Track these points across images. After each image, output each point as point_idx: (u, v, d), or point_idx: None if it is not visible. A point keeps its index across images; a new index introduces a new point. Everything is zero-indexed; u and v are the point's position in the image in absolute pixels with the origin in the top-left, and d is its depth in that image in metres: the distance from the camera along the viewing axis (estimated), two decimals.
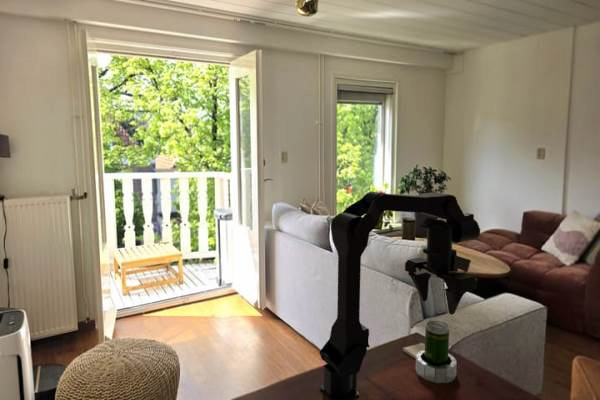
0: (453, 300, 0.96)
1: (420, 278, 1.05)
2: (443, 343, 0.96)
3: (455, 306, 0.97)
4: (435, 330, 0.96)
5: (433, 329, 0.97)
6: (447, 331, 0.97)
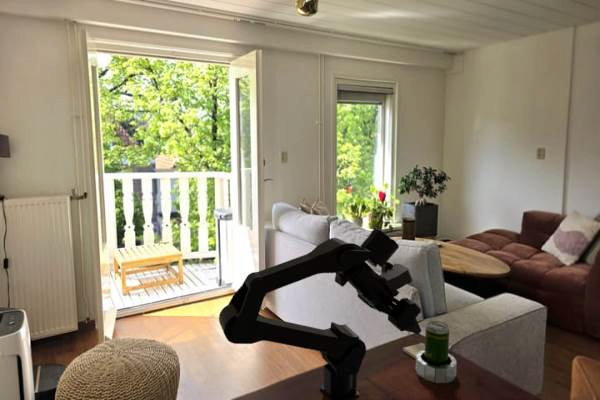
0: (409, 327, 0.89)
1: None
2: (443, 343, 0.96)
3: (416, 327, 0.90)
4: (435, 330, 0.96)
5: (433, 329, 0.97)
6: (447, 331, 0.97)
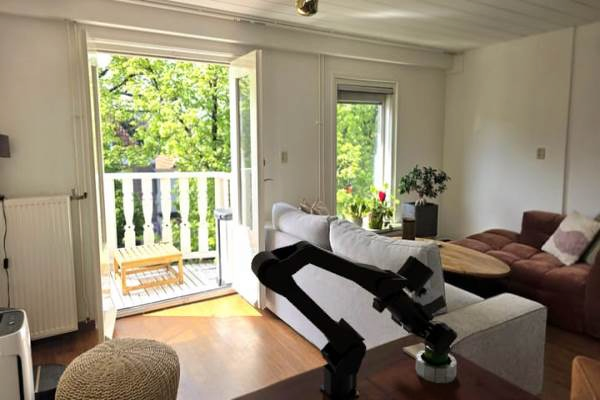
0: None
1: None
2: None
3: None
4: None
5: None
6: None
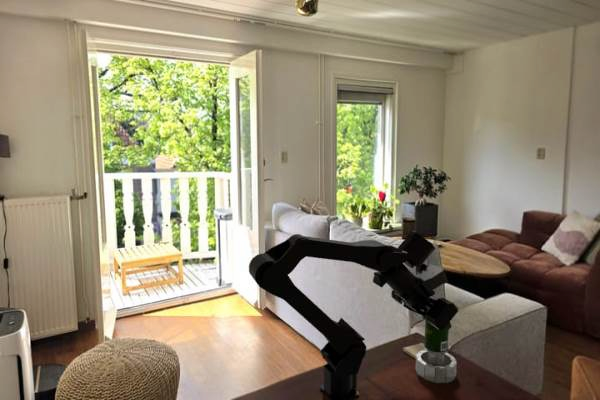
0: None
1: None
2: None
3: (447, 323, 0.95)
4: None
5: None
6: None
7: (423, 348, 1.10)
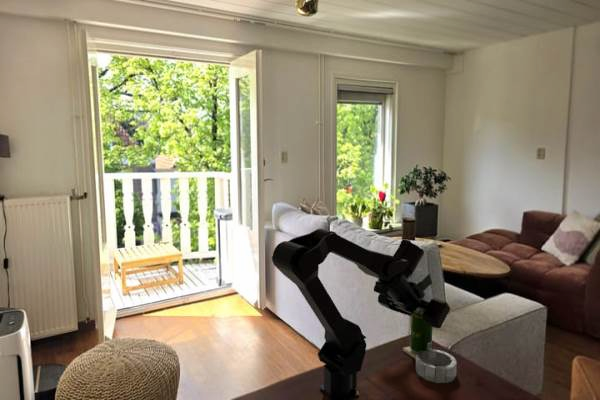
0: None
1: None
2: None
3: None
4: (423, 311, 1.05)
5: (422, 310, 1.05)
6: None
7: None
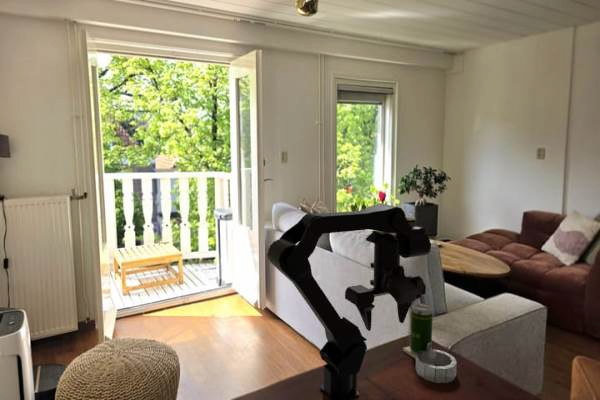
0: (361, 312, 0.93)
1: None
2: (429, 323, 1.05)
3: (366, 322, 0.93)
4: (423, 312, 1.05)
5: (421, 311, 1.05)
6: (432, 311, 1.06)
7: None
